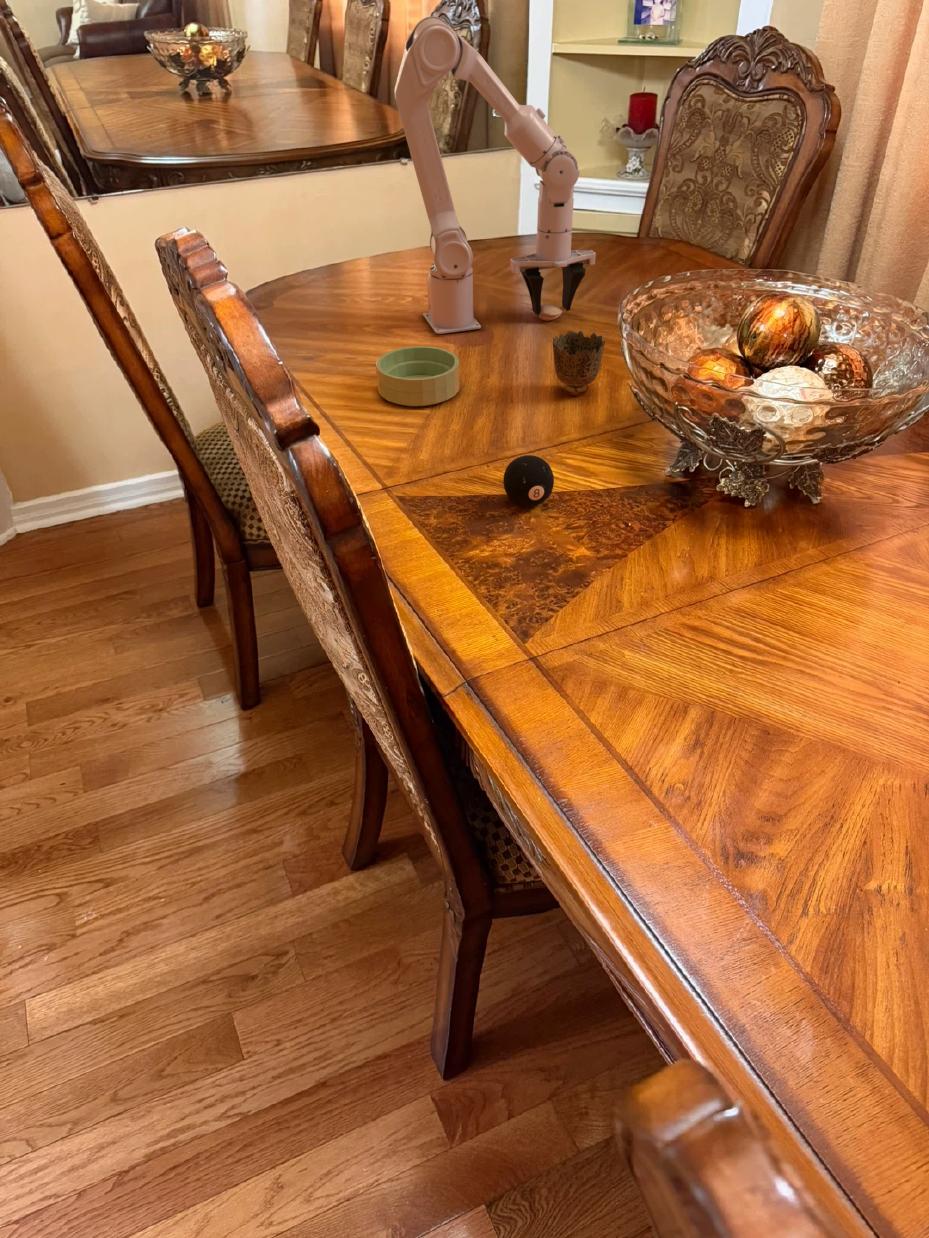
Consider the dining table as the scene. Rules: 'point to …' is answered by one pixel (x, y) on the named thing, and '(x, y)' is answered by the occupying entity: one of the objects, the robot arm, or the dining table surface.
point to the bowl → (418, 375)
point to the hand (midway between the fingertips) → (551, 310)
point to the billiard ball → (528, 480)
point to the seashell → (550, 312)
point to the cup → (577, 360)
